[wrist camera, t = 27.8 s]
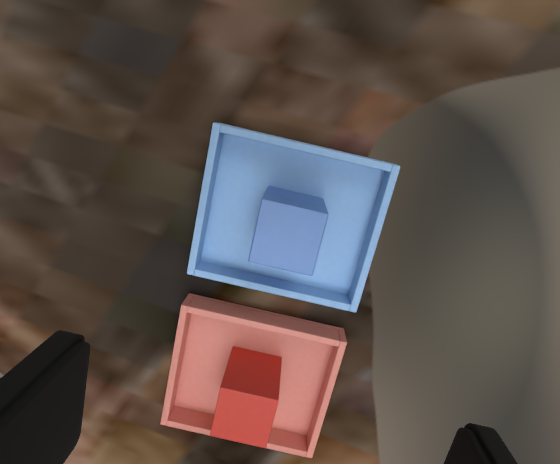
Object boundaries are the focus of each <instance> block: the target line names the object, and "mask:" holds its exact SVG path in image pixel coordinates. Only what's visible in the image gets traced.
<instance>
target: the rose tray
mask: <svg viewBox="0 0 560 464" xmlns="http://www.w3.org/2000/svg"><path fill="white" fill-rule="evenodd" d="M346 345H347V341H346V336H345V332H344V328H340V327H336V326H331V325H327V324H323V323H318V322H314V321H309V320H305V319H301V318H296V317H292V316H288V315H283V314H279V313H274V312H270V311H266V310H261V309H257V308H253V307H248V306H244V305H239V304H235V303H231V302H226V301H222V300H218V299H213V298H209V297H204V296H200V295H196V294H191V293H189V294H188V296H187V297H186V299H185V300H184V302H183V303H182V305H181V309H180V315H179V320H178V326H177V332H176V338H175V343H174V349H173V355H172V360H171V366H170V372H169V378H168V383H167V389H166V395H165V401H164V406H163V412H162V418H161V425H167V426H170V427H174V428H179V429H183V430H188V431H192V432H197V433H201V434H206V435H210V432H211V427H212V422H213V418H214V413H215V408H216V404H217V399H218V395H219V390H220V386H221V383H222V379H223V376H224V373H225V370H226V366H227V363H228V360H229V357H230V353H231V350H232V347H233V346H235V347H240V348H244V349H249V350H253V351H257V352H262V353H266V354H271V355H275V356H279V357H282V365H281V378H280V391H279V402H278V406H277V409H276V413H275V417H274V421H273V425H272V428H271V432H270V436H269V440H268V444H267V447H266V448H268V449H272V450H277V451H281V452H286V453H290V454H295V455H299V456H304V457H308V458H312V457H313V453H314V450H315V447H316V443H317V440H318V437H319V433H320V430H321V427H322V424H323V420H324V417H325V414H326V410H327V407H328V404H329V401H330V397H331V394H332V391H333V387H334V384H335V381H336V377H337V374H338V371H339V368H340V364H341V361H342V358H343V354H344V351H345V348H346Z"/></svg>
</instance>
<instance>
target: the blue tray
mask: <svg viewBox="0 0 560 464" xmlns="http://www.w3.org/2000/svg"><path fill="white" fill-rule="evenodd" d="M399 170H400V166H399V165H396V164H394V163H390V162H386V161H382V160H377V159H373V158H369V157H365V156H360V155H356V154H352V153H347V152H343V151H339V150H335V149H330V148H326V147H322V146H317V145H313V144H309V143H305V142H300V141H296V140H292V139H287V138H283V137H279V136H275V135H270V134H266V133H262V132H258V131H253V130H249V129H245V128H240V127H236V126H232V125H228V124H223V123H215V122H214V123H213V126H212V131H211V137H210V143H209V148H208V154H207V160H206V166H205V171H204V177H203V183H202V189H201V194H200V200H199V206H198V211H197V217H196V223H195V229H194V234H193V240H192V246H191V252H190V257H189V263H188V269H187V274H189V275H194V276H198V277H202V278H207V279H211V280H216V281H220V282H224V283H229V284H233V285H237V286H242V287H246V288H250V289H255V290H259V291H264V292H268V293H272V294H277V295H281V296H285V297H290V298H294V299H299V300H303V301H307V302H312V303H316V304H320V305H325V306H329V307H333V308H338V309H342V310H347V311H351V312H355V313H356V312H357V308H358V305H359V302H360V298H361V295H362V292H363V288H364V285H365V282H366V279H367V275H368V272H369V269H370V265H371V262H372V259H373V255H374V252H375V249H376V245H377V242H378V239H379V236H380V232H381V229H382V226H383V223H384V219H385V216H386V213H387V209H388V206H389V203H390V199H391V196H392V193H393V190H394V186H395V183H396V180H397V176H398V173H399ZM268 186H273V187H277V188H281V189H286V190H290V191H294V192H299V193H303V194H307V195H311V196H316V197H320V198H323V199H324V202H325V205H326V208H327V211H328V214H329V215H328V219H327V223H326V227H325V230H324V234H323V238H322V242H321V245H320V249H319V253H318V257H317V261H316V264H315V268H314V272H313V275H312V276H308V275H304V274H300V273H295V272H291V271H287V270H282V269H278V268H274V267H269V266H265V265H261V264H256V263H252V262H249V261H248V259H249V254H250V250H251V245H252V240H253V236H254V231H255V227H256V222H257V217H258V213H259V208H260V203H261V199H262V197H263V195H264V193H265V191H266V190H267V188H268Z"/></svg>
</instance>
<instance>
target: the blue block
mask: <svg viewBox="0 0 560 464" xmlns="http://www.w3.org/2000/svg"><path fill="white" fill-rule="evenodd" d="M328 215H329V214H328V211H327V208H326V205H325V202H324V199H323V198H320V197H316V196H311V195H307V194H303V193H299V192H294V191H290V190H286V189H281V188H277V187H273V186H268V188H267V190H266V191H265V193H264V195H263V197H262V199H261V203H260V208H259V213H258V217H257V222H256V227H255V231H254V236H253V240H252V245H251V250H250V254H249V259H248V261H249V262H252V263H256V264H261V265H265V266H269V267H274V268H278V269H282V270H287V271H291V272H295V273H300V274H304V275H308V276H312V275H313V272H314V268H315V264H316V261H317V257H318V253H319V249H320V245H321V242H322V238H323V234H324V230H325V227H326V223H327V219H328Z"/></svg>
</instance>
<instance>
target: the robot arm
mask: <svg viewBox="0 0 560 464" xmlns="http://www.w3.org/2000/svg"><path fill="white" fill-rule="evenodd" d="M89 354H90V344H89V343H86V342H85V339H84V336H82V335H79V334H75V333H70V332H66V331H61V330H60V331H57V332H55V333H54V334H53V335H52V336H51V337H49V338H48V339H47V340H46V341H45V342H43V343H42V344H41V345H40V346H39V347H37V348H36V349H35V350H34V351H33V352H32V353H30V354H29V355H28V356H27V357H26V358H24V359H23V360H22V361H21V362H20V363H18V364H17V365H16V366H15V367H14V368H12V369H11V370H10V371H9V372H8V373H7V374H5V375H4V376H3V377H2V378H0V464H63V463H64V462H65V460H66V459H67V458H68V456H69V455H70V453H71V452H72V450H73V449H74V447H75V446H76V444H77V442H78V439H79V436H80V433H81V425H82V416H83V407H84V398H85V389H86V380H87V371H88V363H89ZM444 464H517V462H516V461H515V459H514V458H513V456H512V455H511V453H510V452H509V450H508V448H507V447H506V445H505V444H504V442H503V441H502V439H501V438H500V436H499V434H498V433H497V432H496V431H495V430H494V429H493V428H489V427H485V426H481V425H476V424H471V423H469V424H467V425H466V426H465V427H464V428H460V429H458V431H457V433H456V436H455V438H454V440H453V443H452V445H451V447H450V450H449V452H448V455H447V457H446V460H445V462H444Z"/></svg>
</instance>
